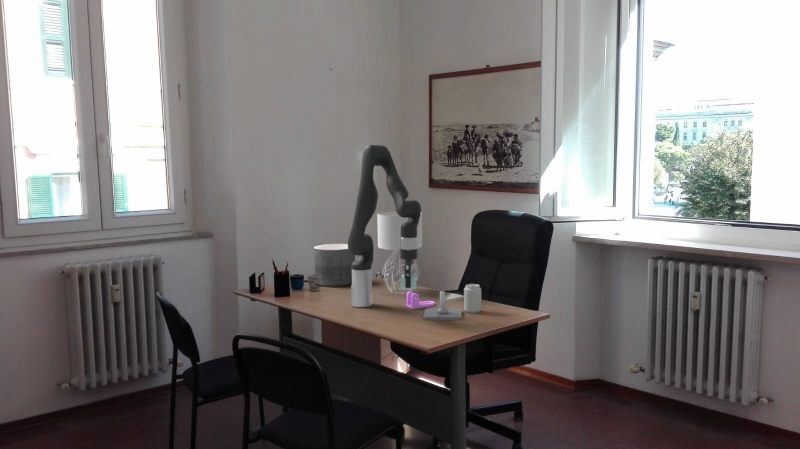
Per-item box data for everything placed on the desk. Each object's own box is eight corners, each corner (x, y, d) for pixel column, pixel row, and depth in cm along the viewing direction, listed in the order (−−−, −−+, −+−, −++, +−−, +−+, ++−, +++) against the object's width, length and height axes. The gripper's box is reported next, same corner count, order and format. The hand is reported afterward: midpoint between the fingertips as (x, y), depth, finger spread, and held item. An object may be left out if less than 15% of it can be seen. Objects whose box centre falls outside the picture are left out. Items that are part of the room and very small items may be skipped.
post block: (423, 319, 278) (422, 295, 277) (425, 311, 292) (424, 288, 291) (461, 320, 276) (460, 295, 275) (461, 311, 290) (461, 288, 289)
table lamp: (369, 292, 333) (368, 214, 328) (398, 285, 349) (397, 210, 345) (403, 298, 318) (401, 216, 314) (431, 290, 335) (430, 212, 330)
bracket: (412, 309, 297) (412, 294, 297) (406, 306, 302) (406, 291, 301) (437, 305, 303) (436, 290, 302) (430, 303, 308) (430, 288, 307)
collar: (401, 288, 278) (401, 277, 278) (402, 285, 284) (402, 274, 284) (415, 289, 278) (415, 277, 277) (416, 286, 284) (416, 274, 283)
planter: (354, 286, 348) (353, 249, 345) (312, 287, 347) (311, 250, 345) (356, 278, 370) (355, 243, 367) (317, 279, 369) (316, 244, 367)
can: (470, 314, 286) (470, 287, 284) (460, 310, 292) (460, 284, 291) (484, 312, 289) (484, 285, 288) (475, 308, 296) (474, 282, 294)
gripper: (401, 244, 286) (401, 282, 288) (398, 250, 272) (398, 289, 274) (418, 244, 286) (418, 282, 288) (416, 250, 271) (416, 290, 273)
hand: (408, 286), depth 281 cm, fingers closed on collar, 6 cm apart
